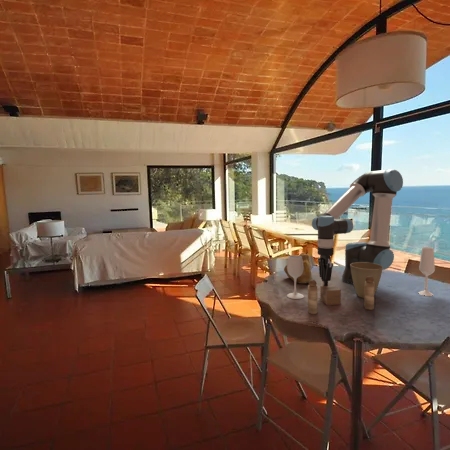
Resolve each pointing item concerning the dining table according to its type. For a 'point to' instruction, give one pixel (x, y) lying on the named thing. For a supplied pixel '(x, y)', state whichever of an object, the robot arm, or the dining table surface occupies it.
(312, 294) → the oak mill
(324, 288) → the tan wooden cube
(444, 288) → the dining table surface
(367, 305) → the oak mill
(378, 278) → the plant pot
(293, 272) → the wineglass
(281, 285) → the dining table surface
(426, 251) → the champagne flute
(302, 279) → the rough brown rock
